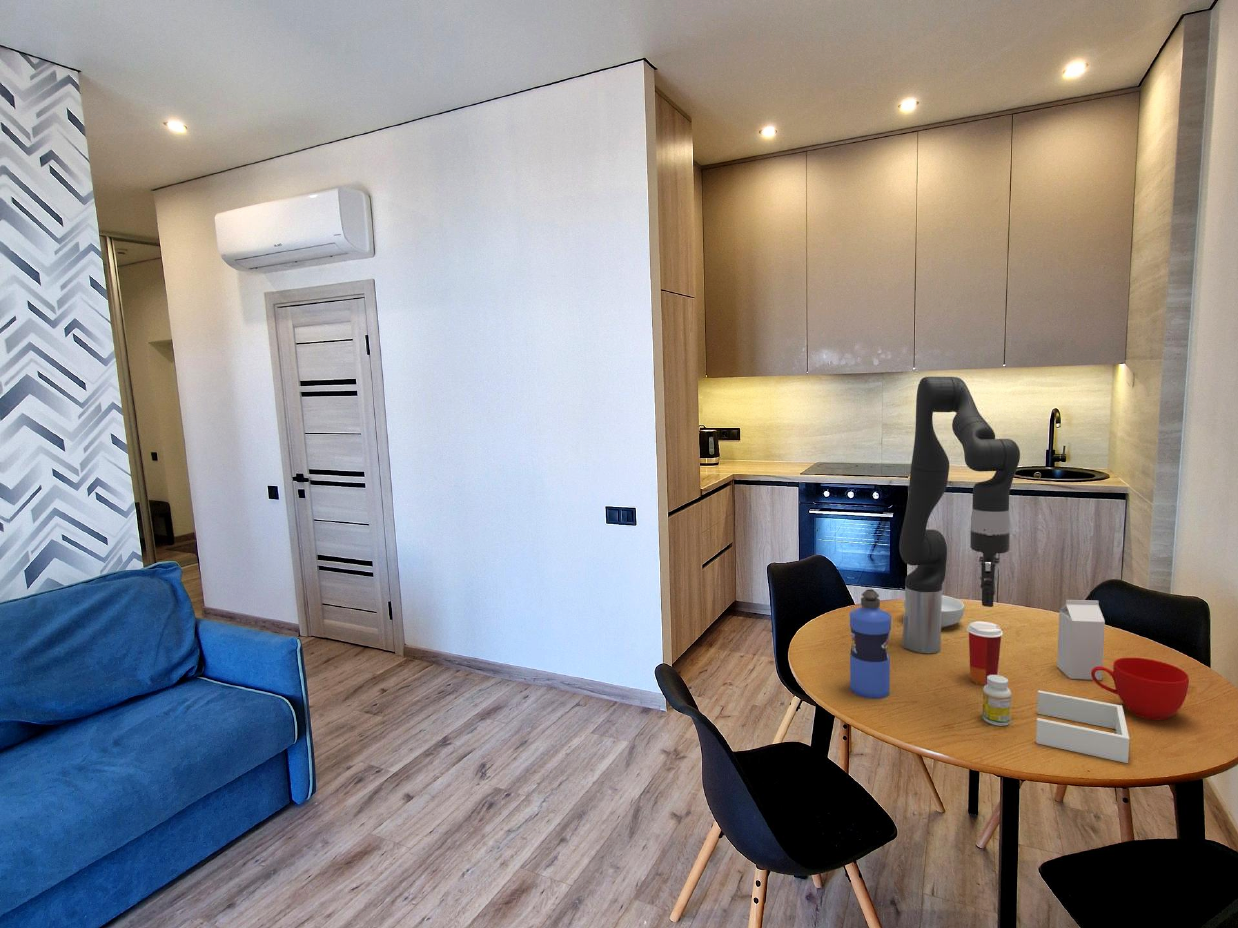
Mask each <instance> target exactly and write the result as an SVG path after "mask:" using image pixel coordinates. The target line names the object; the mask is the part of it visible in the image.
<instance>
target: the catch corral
mask: <svg viewBox="0 0 1238 928" xmlns="http://www.w3.org/2000/svg"><path fill="white" fill-rule="evenodd" d="M1036 704H1037V709H1036V711H1037V712H1036V714H1038V715H1042V716H1049V717H1053V718H1058V719H1064V720H1068V721H1073V722H1077V723H1083V724H1087V725H1094V726H1096V727H1097V726H1098V727H1103V728H1109V729H1113V730H1115V733H1112V732H1108V731H1104V730H1099V729H1098V730H1097V729H1094V728H1089V727H1083V726H1078V725H1074V724H1068V723H1064V722H1059V721H1054V720H1050V719H1044V718H1039V717H1036V736H1035V737H1036V740H1035V743H1036V744H1038V745H1044V746H1048V747H1051V748H1052V747H1053V748H1057V749H1062V750H1066V751H1071V752H1075V753H1080V754H1085V755H1089V756H1093V757H1098V758H1101V759H1106V760H1112V761H1116V762H1121V763H1125V764H1129V752H1130V734H1129V729H1128V726H1127V722H1126V717H1125V713H1124V708H1123V705H1121V704H1120V705H1119V704H1115V703H1109V702H1104V701H1099V700H1093V699H1089V698H1082V697H1076V696H1070V695H1065V694H1060V693H1056V692H1049V691H1044V690H1037V703H1036Z"/></svg>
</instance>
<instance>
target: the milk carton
mask: <svg viewBox="0 0 1238 928" xmlns="http://www.w3.org/2000/svg"><path fill="white" fill-rule="evenodd" d="M1099 602H1100V601H1099V600H1092V599H1091V600H1089V599H1087V600H1083V599H1081V600H1080V599H1065V603H1064V605H1063V606H1062V608H1060V609H1059V610H1058V611H1059V615H1058V633H1057V636H1058V638H1057V658H1056V659H1057V660H1056V666H1057V668H1058V669H1059V670H1060V671H1061V672H1062V673H1063V674H1064V675H1065V676H1067V678H1068V679H1070V680H1090V681H1091V680H1093V678H1092V676H1091V671H1092V669H1093V668H1094V667H1097V666H1102V667H1104V666H1103V665H1104V663H1103V661H1104V660H1103V659H1104V645H1105V644H1104V643H1105V624H1106V623H1105V622H1106V621H1105V618H1104V616H1103V615H1104V614H1103V613H1102V611H1101V608H1100V605H1099V604H1100V603H1099ZM1095 677H1096V678H1097V680H1098V681H1102V679H1103V670H1098V671H1096V672H1095ZM1093 681H1094V680H1093Z"/></svg>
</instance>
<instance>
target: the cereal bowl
mask: <svg viewBox="0 0 1238 928" xmlns="http://www.w3.org/2000/svg"><path fill="white" fill-rule="evenodd" d="M903 609H904V610H905V597H904V598H903ZM964 613H965V604H964V603H963V601H961V600H960V599H957V598H954V597H952V596H947V595H943V594H942V608H941V629H942V628H946V627H948V626H952V625H955V624H957V623H959V622H960V621H961V620H962V619H963V617H964Z"/></svg>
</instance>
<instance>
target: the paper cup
mask: <svg viewBox="0 0 1238 928" xmlns="http://www.w3.org/2000/svg"><path fill="white" fill-rule="evenodd" d="M966 632H967V633H968V650H969V651H968V652H969V672H970V674H969V675H970V680H971V681H972V682H973V683H974V684H977V685H981V686H985V685H987V676H989V675H998V672H999V671H998V670H999V663H1000V661H999V660H1000V652H1001V641H1002V636H1003V634H1004V633H1003V631H1002V629H1001V627H1000V626H999V625H998V624H997V623H992V622H989V621H981V620H980V621H979V620H978V621H973V622H970V623H969V624H968V626H967V627H966Z"/></svg>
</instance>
